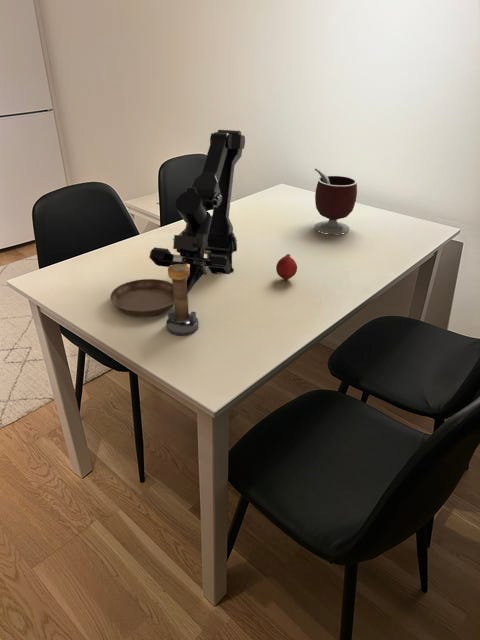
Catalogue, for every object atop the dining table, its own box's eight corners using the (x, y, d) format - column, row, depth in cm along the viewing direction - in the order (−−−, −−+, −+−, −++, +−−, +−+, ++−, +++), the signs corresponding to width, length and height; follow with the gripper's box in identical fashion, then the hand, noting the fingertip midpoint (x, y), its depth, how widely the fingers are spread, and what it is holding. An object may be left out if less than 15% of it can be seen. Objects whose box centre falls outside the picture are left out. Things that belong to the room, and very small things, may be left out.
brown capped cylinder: (176, 310, 119) (172, 261, 112) (195, 313, 118) (192, 264, 111) (169, 321, 115) (164, 271, 108) (188, 324, 114) (185, 274, 107)
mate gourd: (357, 226, 177) (365, 170, 167) (342, 239, 167) (350, 179, 157) (318, 218, 184) (323, 163, 174) (301, 229, 174) (306, 172, 164)
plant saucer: (142, 282, 139) (141, 272, 137) (194, 298, 131) (193, 288, 129) (96, 309, 126) (95, 298, 124) (151, 329, 118) (150, 318, 116)
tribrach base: (173, 317, 122) (172, 302, 120) (202, 321, 121) (202, 306, 119) (161, 333, 116) (160, 318, 114) (192, 337, 114) (192, 322, 112)
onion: (282, 286, 137) (284, 259, 133) (271, 277, 141) (273, 251, 137) (299, 282, 139) (302, 255, 135) (288, 273, 144) (290, 248, 140)
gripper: (149, 214, 113) (133, 278, 110) (228, 222, 109) (214, 289, 106) (163, 234, 124) (150, 293, 120) (236, 242, 120) (224, 303, 117)
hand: (183, 294), depth 115 cm, fingers closed, pressing on brown capped cylinder
